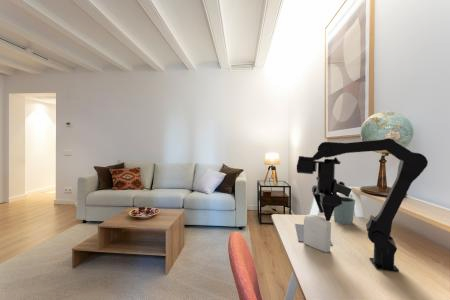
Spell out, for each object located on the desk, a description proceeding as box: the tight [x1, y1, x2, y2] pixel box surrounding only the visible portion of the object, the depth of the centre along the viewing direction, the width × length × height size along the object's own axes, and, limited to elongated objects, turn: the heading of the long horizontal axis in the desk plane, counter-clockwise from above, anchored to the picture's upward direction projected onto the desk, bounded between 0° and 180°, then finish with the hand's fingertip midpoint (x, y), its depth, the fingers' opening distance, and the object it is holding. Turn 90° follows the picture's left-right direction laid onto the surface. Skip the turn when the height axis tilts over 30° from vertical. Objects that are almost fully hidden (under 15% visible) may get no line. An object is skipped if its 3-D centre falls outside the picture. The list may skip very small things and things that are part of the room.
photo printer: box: [303, 214, 332, 253], centre depth 88 cm, size 10×4×12 cm, turn 39°
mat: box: [294, 223, 334, 247], centre depth 101 cm, size 20×13×1 cm, turn 166°
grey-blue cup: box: [333, 196, 356, 226], centre depth 117 cm, size 10×10×12 cm
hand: (324, 216), depth 84 cm, fingers open, 9 cm apart
